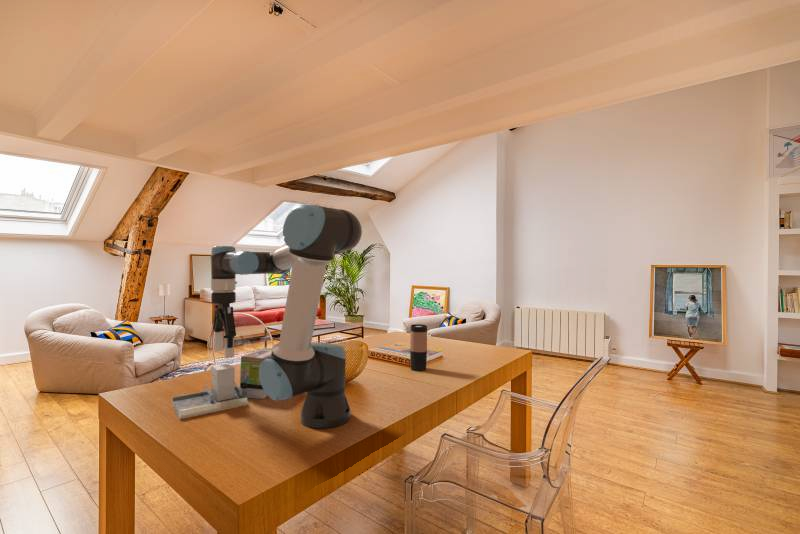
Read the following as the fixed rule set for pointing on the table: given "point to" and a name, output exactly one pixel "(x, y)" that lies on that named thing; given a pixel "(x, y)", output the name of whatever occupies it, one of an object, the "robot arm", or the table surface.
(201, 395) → the grey shallow tray
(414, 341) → the travel mug
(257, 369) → the tea box
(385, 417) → the table surface
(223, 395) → the small box
